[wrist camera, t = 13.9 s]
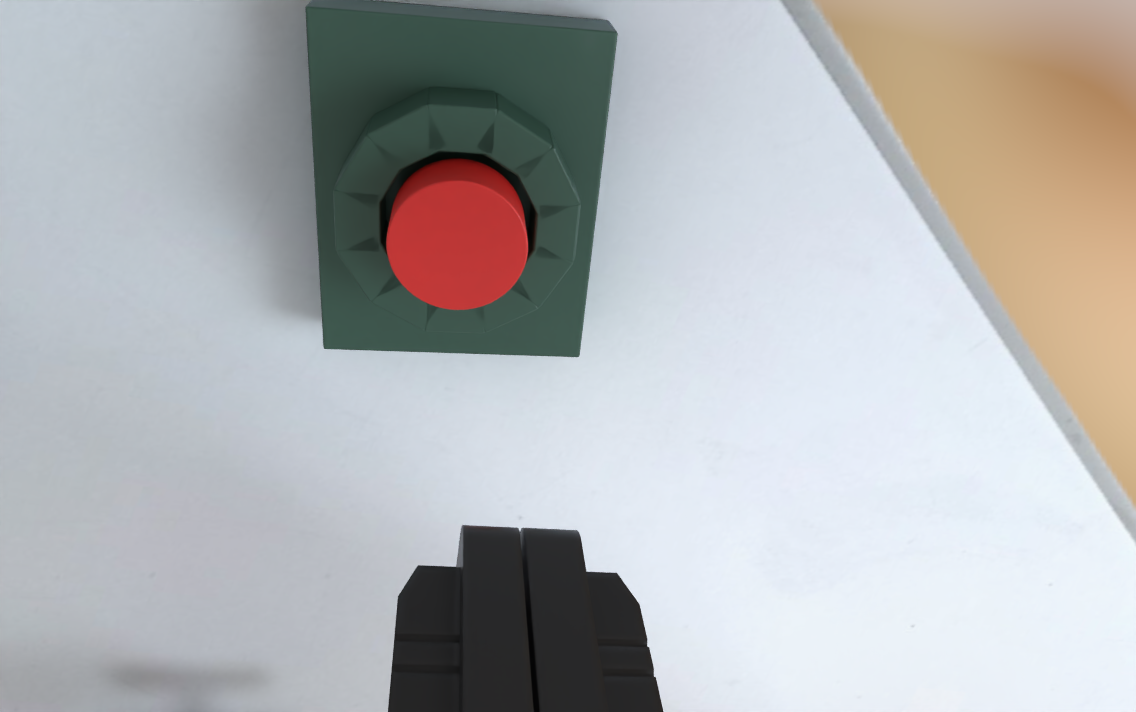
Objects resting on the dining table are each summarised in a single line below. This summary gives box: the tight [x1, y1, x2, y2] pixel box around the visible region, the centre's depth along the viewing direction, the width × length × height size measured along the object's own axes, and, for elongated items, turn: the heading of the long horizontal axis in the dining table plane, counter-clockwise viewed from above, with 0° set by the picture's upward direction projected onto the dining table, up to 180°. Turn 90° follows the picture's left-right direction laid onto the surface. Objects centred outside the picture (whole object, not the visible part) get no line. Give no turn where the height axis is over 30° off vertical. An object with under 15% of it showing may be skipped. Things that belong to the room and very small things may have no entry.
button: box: [386, 159, 528, 310], centre depth 23 cm, size 4×4×2 cm
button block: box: [306, 0, 618, 357], centre depth 25 cm, size 10×8×4 cm
